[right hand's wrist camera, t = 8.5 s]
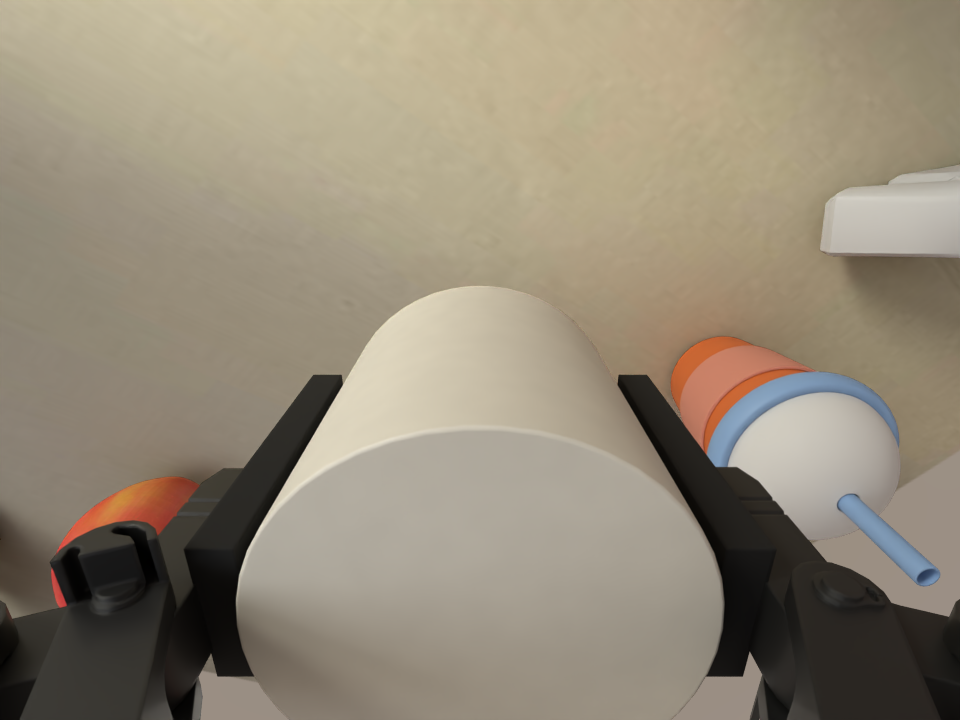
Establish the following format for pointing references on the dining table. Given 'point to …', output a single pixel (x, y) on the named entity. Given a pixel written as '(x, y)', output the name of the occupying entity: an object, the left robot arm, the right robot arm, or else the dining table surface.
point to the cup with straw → (799, 440)
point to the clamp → (897, 217)
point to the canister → (480, 536)
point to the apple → (133, 510)
